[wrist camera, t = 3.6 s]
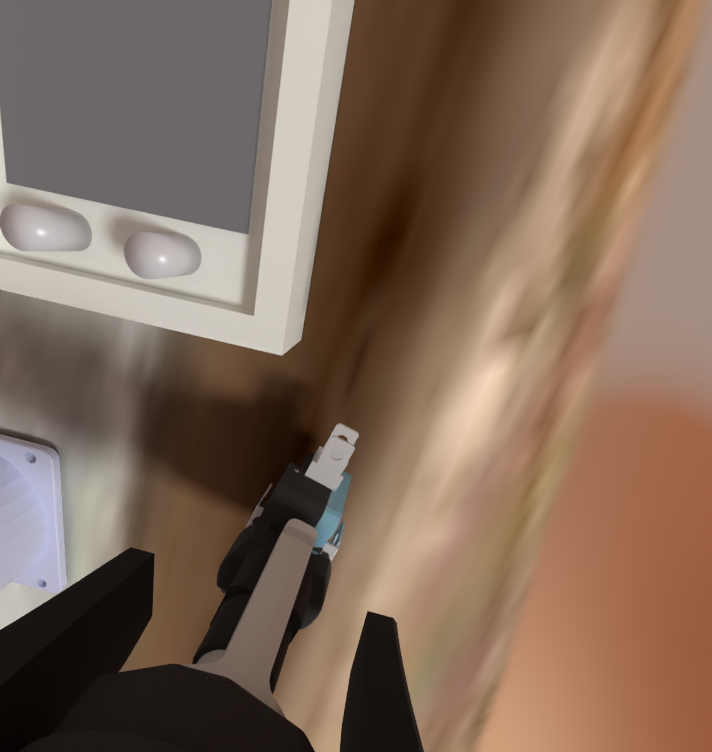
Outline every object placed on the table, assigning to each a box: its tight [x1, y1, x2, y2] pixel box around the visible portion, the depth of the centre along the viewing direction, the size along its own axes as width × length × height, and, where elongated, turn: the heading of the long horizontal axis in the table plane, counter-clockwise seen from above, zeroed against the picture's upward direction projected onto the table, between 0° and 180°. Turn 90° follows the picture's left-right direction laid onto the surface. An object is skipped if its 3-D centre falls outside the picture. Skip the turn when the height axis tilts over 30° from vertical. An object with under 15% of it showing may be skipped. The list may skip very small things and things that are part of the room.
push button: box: [19, 423, 359, 752], centre depth 9 cm, size 7×5×10 cm
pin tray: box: [0, 0, 354, 355], centre depth 10 cm, size 11×16×3 cm
